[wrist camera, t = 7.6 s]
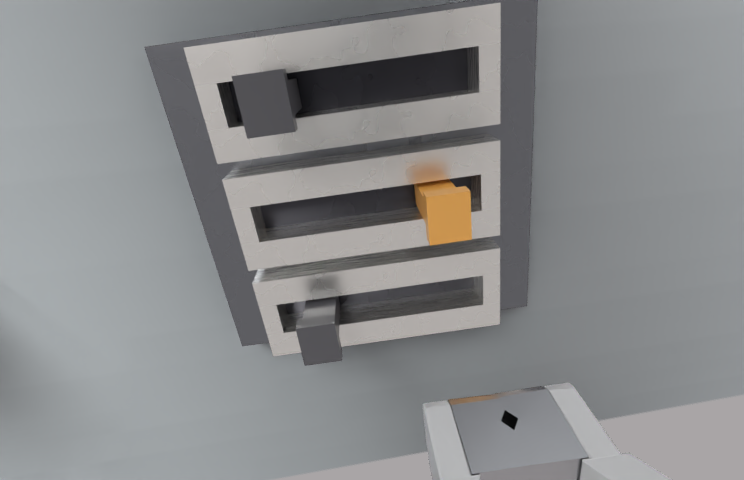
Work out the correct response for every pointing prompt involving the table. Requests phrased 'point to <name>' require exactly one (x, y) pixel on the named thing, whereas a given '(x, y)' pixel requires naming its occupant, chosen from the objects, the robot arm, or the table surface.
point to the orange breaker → (444, 211)
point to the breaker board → (363, 168)
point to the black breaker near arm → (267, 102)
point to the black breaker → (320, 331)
